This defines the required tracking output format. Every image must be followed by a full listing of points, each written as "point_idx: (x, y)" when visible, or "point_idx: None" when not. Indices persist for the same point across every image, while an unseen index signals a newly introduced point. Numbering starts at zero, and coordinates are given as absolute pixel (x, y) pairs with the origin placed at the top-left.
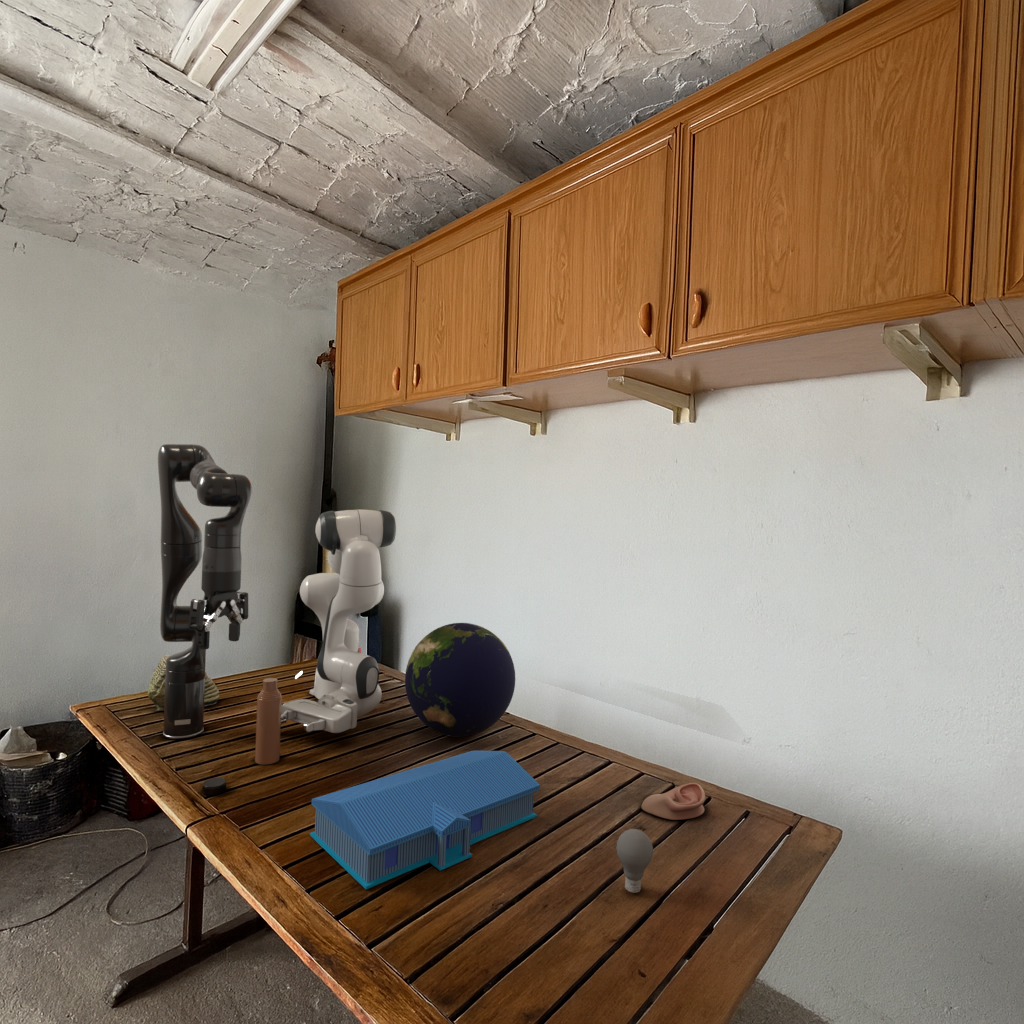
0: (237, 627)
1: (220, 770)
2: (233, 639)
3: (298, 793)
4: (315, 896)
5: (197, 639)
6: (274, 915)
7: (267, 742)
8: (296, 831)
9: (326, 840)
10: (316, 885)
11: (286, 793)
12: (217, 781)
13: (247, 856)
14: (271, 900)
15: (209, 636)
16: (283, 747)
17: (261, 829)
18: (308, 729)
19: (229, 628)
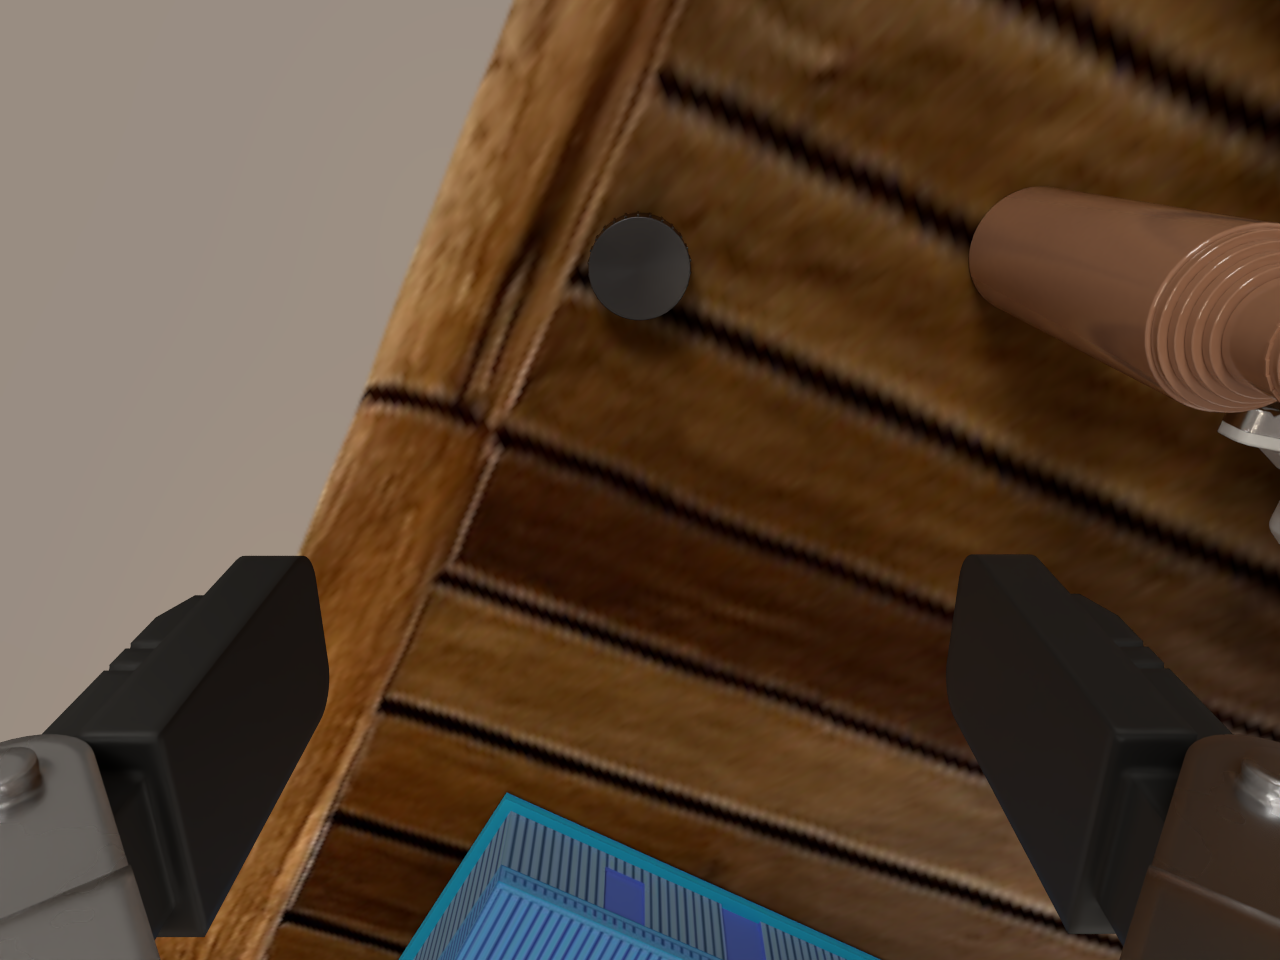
0: (1049, 879)
1: (842, 113)
2: (959, 654)
3: (757, 592)
4: (279, 940)
5: (111, 671)
6: None
7: (1021, 310)
8: (515, 739)
9: (470, 877)
10: (316, 921)
11: (740, 552)
12: (651, 277)
13: None
14: None
15: (248, 849)
16: None
17: (472, 638)
18: (1226, 436)
19: (1053, 681)
